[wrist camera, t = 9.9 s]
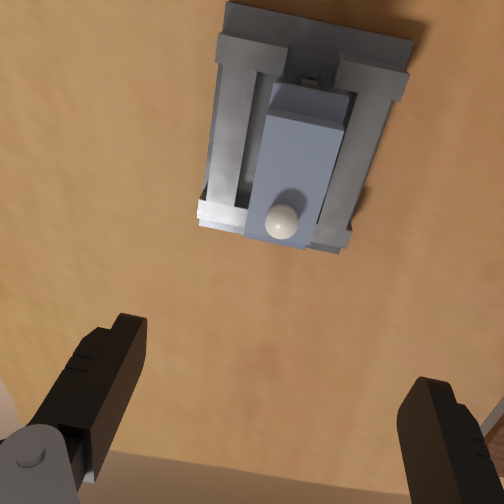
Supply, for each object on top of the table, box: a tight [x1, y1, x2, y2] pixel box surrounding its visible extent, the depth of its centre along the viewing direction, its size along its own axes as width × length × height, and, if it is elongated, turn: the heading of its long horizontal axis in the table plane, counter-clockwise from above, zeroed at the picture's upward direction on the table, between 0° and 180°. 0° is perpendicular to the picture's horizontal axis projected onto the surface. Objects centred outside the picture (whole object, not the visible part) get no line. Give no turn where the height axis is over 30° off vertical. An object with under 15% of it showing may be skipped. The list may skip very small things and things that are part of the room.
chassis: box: [197, 1, 415, 254], centre depth 28 cm, size 15×11×2 cm
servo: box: [243, 78, 349, 250], centre depth 25 cm, size 10×4×7 cm, turn 170°
